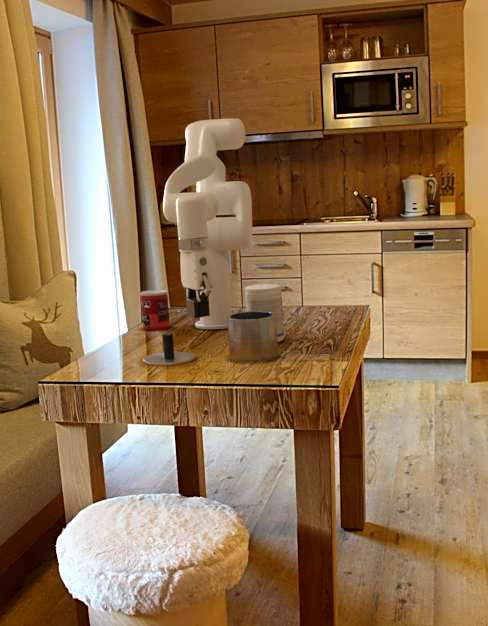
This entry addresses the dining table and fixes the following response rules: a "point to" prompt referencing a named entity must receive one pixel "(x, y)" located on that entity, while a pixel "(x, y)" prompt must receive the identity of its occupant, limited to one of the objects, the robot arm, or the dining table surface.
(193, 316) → the walnut block
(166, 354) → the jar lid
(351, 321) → the dining table surface
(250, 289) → the supplement tub
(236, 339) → the steel jar
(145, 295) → the canned food
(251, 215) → the robot arm
